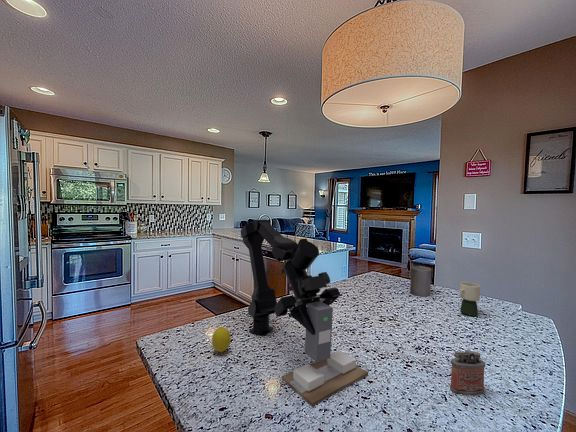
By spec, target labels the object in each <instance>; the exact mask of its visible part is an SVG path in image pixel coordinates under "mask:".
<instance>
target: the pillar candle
mask: <svg viewBox="0 0 576 432" xmlns="http://www.w3.org/2000/svg"><path fill="white" fill-rule="evenodd" d="M409 285H410V287H409V289H410V290H409V291H410V292H409V293H410V294H411V295H413V296H415V297H420V298H428V296H429V297H430V296H431V290H432V289H431V287H432V268H431V267H427V266H423V265H413V266H411V267H410V284H409Z"/></svg>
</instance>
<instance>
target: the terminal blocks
mask: <svg viewBox="0 0 576 432" xmlns="http://www.w3.org/2000/svg"><path fill="white" fill-rule="evenodd" d="M327 363H328V364H329V365H331V366H332V367H334V368H335V369H337V370H338V371H340V372H341V373H343V374H344V373H346V372H348V371H350V370H352V369H354V368H356V364H357V360H356V359H355V358H354V357H352V356H350V355H349V354H347V353H346V352H343V351H342V350H337V351H335V352H333V353H331V356H330V358H329V359H327ZM309 364H310V363H307V364H305V365H302V366H300V367H298V368H295V369H293V370H292V372H293V379H294V380H295V381H297V382H298V383H299V384H300V385H301V386H302V387H304V388H305V389H306V390H307V391H308V392H309V391H311V390H312V389H314V388H316V387H318V386H320V385H322V384H324V375H323V374H322V373H320V372H319V371H318V370H316V369H315V368H313V367H312V366H311V365H309Z"/></svg>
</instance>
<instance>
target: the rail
mask: <svg viewBox="0 0 576 432" xmlns="http://www.w3.org/2000/svg"><path fill="white" fill-rule="evenodd" d="M357 366H358V367H359V364H357V363H356V367H357ZM317 370H318V371H319V372H320V373H322V374H323V375H324V383H326V382H328V381H330V380H332V379H334V378H336V377H338V376H340V375H342V374H343V373H341V372H340V371H338V370H337V369H335V368H334V367H332V366H331V365H329V364H327V365H325V366H323V367H321V368H319V369H317ZM290 384H291V385H292V386H293V387H294V388H295V389H297V390H298V391H299V392H300V393H301V394H304V393H306V392H308V391H307V390H306V389H305V388H304V387H302V386H301V385H300V384H299V383H298V382H297V381H295V380H293V381H290Z"/></svg>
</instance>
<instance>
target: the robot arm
mask: <svg viewBox="0 0 576 432" xmlns="http://www.w3.org/2000/svg"><path fill="white" fill-rule="evenodd" d="M240 236H241V238H242V243H243V244H244V245H245V246H246V248H247V249H248V253H249V259H250V266H251V273H252V278H253V285H254V289H253V292H252V295H251V302H250V304H249V305H248V307H247V313H248V315H249V317H251V318H253V320H252V328H251V329H250V330H249V333H251V334H255V335H260V336H263V337H264V336H267V335H268V334H269V333H271V331H273V329H274V326H270V315H275V317H276V318H279V317H284V316H287V314H288V312H289V314H288V317H289V318H293V319H294V320H295V321H297V322H298V323H299V324H300V325H301V326H303V328H304V329H305V330H306V329H307V330H308V331H309V332H310V333H311V334H312V335H314V334H315V330H314V327H313V324H312V322H311V320H310V318H309V315H308V313H307V304H309V303H315V302H320V301H321V302H323V303H325V304H327V305H329V306H331V305H332V304H334V303H335V302H336V301H337V300H338V299H339V298H340V296H342V295H341V293H340V290H339V289H338V288H337V287H330V288H327V287H328V285H329V284H330V283H331V278H330V276H329V274H328V273H327V271H324V272H322V271H321V273H318V275H316V276H313V275H312V274H310V275H309V274H308V273H307V271H306V270H308V269H309V268H310V267H311V266H312V265H313V263H314V262H315V260H316V259H317V258H318V257H319V255H320V250H319V248H318V246H316V245H315V243H313V242H311V241H308V239H307V238H300V239H299V241H298V242H296V241H295V240H293V239H292V238H288V237H285V236H284V235H282V234H281V233H280V232H279V231H278V230H277V229H276V228H275V227H274V226H273V225H272V224H271V222H270V221H269V220H268V219H265V218H264V219H256V220H253V221H252V222H250V223H248V224H245V225H244V226H243V227H242V228H241V230H240ZM264 241H266V242H267V243H268V245H269V246H270V247H271V254H272V256H273V257H274V259H275V260H276V262H285V263H284V264H282V268H281V271H280V273H281V275H283V274H285V276H286V279H287V281H288V282H289V285H290V286H289V287H288V290H289V292H292V293H293V295H292V294H291V295H287V296H282V297H280V298H279V300H278V301H277V296H276V291H275V288H271V287H270V285H269V282H268V277H267V272H266V266H265V261H264V253H263V249H262V246H263V243H264ZM324 288H325V289H324ZM321 289H324V290H323V291H322V292H321ZM320 292H321V293H320ZM318 293H319V294H318Z"/></svg>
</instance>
